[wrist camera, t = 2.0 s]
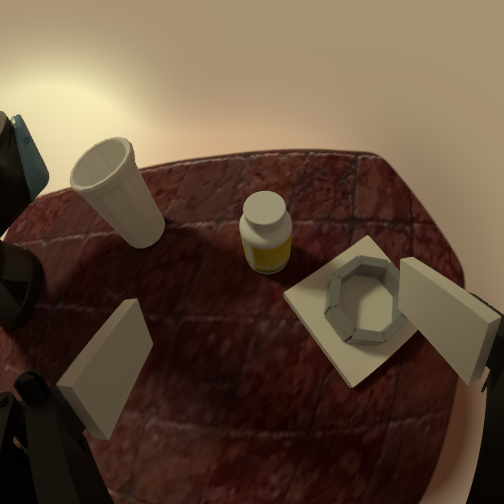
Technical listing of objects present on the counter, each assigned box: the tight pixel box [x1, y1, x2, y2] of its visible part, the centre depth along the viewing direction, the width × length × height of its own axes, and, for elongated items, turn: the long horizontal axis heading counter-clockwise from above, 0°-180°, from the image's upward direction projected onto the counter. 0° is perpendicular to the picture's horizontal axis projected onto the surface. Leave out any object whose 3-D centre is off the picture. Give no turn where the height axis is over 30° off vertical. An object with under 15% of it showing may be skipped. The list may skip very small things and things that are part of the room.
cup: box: [70, 137, 165, 248], centre depth 31 cm, size 8×8×14 cm
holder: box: [284, 235, 418, 388], centre depth 28 cm, size 13×13×4 cm
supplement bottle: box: [240, 191, 292, 274], centre depth 30 cm, size 5×5×10 cm
